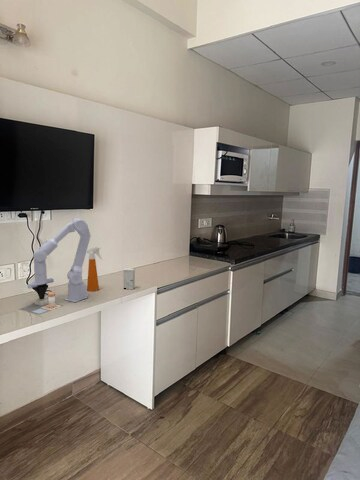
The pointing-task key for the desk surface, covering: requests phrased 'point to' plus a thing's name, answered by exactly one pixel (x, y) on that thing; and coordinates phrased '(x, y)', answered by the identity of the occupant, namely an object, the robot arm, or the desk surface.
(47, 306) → the picture sheet
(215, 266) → the desk surface
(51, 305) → the cylinder
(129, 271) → the skincare box
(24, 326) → the desk surface
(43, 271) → the robot arm
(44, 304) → the button housing
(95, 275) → the spray bottle
